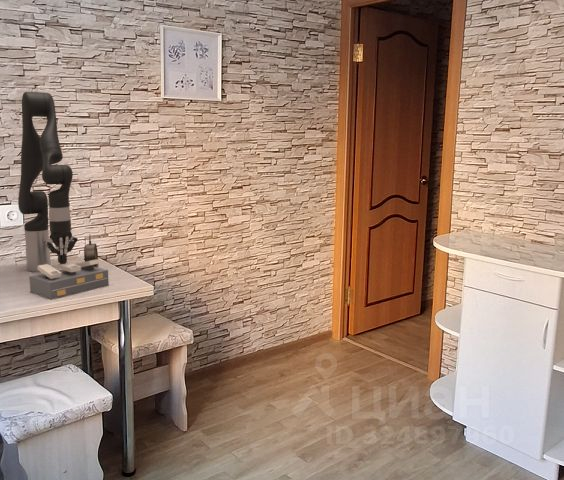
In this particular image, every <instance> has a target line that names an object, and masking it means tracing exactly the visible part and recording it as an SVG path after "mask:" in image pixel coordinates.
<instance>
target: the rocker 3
mask: <svg viewBox="0 0 564 480" xmlns="http://www.w3.org/2000/svg"><path fill="white" fill-rule="evenodd" d="M94 264H98V265H100V260H99V258H98V259H97V260H96V259H95V260H90V261H87V262H85V261H83V262H77V263H76V265H78V266H81V267H83V266H89V265H94Z"/></svg>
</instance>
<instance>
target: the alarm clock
mask: <svg viewBox="0 0 564 480" xmlns="http://www.w3.org/2000/svg"><path fill="white" fill-rule="evenodd" d="M88 234H89V235H88V236H89V239H88V242H89V243H86V244H85V245H84V248H83V260H84V262H87V261H90V260H95V259H96V260H97V259H99V254H98V252H99V251H98V246H97V244H96V243H95V242H94V243H92V240H91V234H90V233H88ZM99 265H100V264H94V265H93V266H94V267H98V268H99Z"/></svg>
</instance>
